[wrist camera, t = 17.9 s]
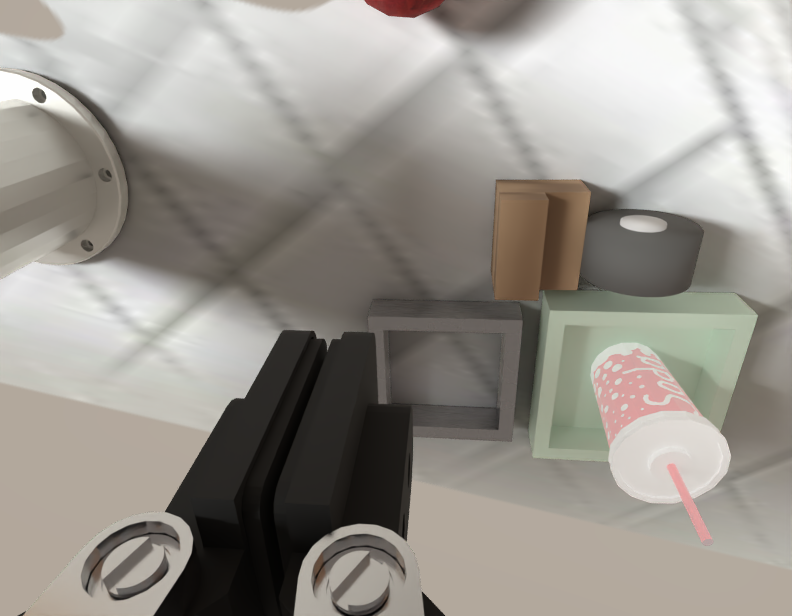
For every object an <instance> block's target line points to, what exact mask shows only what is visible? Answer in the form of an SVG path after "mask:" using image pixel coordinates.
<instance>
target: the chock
mask: <svg viewBox="0 0 792 616" xmlns="http://www.w3.org/2000/svg"><path fill="white" fill-rule="evenodd" d="M590 197H591V192H590V190H589V189H588V188H587V187H586V185H585V184H584V183H583V182H582V181H581V180H496V192H495V209H494V226H493V243H492V261H491V275H492V282H493V290H494V297H495V300H531V301H538V298H539V290H577V288H578V281H579V274H580V267H581V260H582V253H583V246H584V239H585V232H586V225H587V218H588V211H589V204H590Z"/></svg>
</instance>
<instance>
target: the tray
mask: <svg viewBox="0 0 792 616" xmlns="http://www.w3.org/2000/svg"><path fill="white" fill-rule="evenodd" d="M757 318H758V314H756V313H755V312H754V311H753V310H752V309H751V308H750V307H749V306H748V305H747V304H746V303H745V302H744V301H743V300H742V299H741V298H740V297H739V296H738V295H737V294H736V293H708V292H682V293H679V294H676V295H672V296H666V297H637V296H629V295H624V294H619V293H615V292H611V291H598V290H543V297H542V306H541V315H540V324H539V333H538V343H537V352H536V361H535V370H534V379H533V389H532V398H531V407H530V416H529V426H528V433H529V439H530V445H531V451H532V457H533V458H542V459H562V460H581V461H600V462H609V461H608V458H609V451H610V448H609V445H608V441H607V437H606V433H605V429H604V426H603V422H602V418H601V414H600V410H599V407H598V403H597V399H596V395H595V391H594V388H593V384H592V380H591V376H590V375H591V366H592V364H593V362H594V361H595V359H596V357H597V356H598V355H599V354H600V353H601V352H603V351H604V350H605V349H607V348H608V347H611V346H614V345H617V344H620V343H638V344H641V345H644V346H647V347H649V348H650V349H651V350H652V351H653V352H654V353H655V354H656V355H657V356H658V357H659V359H660V360H661V361H662V363H663V364H664V365H665V367H666V368H667V369H668V371H669V372H670V373H671V375H672V376H673V377H674V379H675V380H676V381H677V383H678V384H679V385H680V387H681V388H682V389H683V391H684V392H685V393H686V395H687V396H688V397H689V398H690V400H691V401H692V402H693V404H694V405H695V406H696V408H697V409H698V410H699V412H700V413H701V414H702V416H703V417H705V418H706V419H707V420H709V421H710V422H711V423H712V424H713V425H714V426H715V427H716V428H717V429H718V430H719V431H720V432H721V429H722V426H723V423H724V419H725V416H726V413H727V410H728V407H729V404H730V401H731V398H732V395H733V392H734V389H735V386H736V382H737V379H738V376H739V373H740V370H741V367H742V364H743V361H744V358H745V355H746V352H747V348H748V345H749V342H750V339H751V336H752V333H753V330H754V327H755V324H756V321H757Z"/></svg>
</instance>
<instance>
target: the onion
mask: <svg viewBox="0 0 792 616" xmlns="http://www.w3.org/2000/svg"><path fill="white" fill-rule="evenodd" d="M443 1H444V0H365V2H366V3H367V4H368V5H370V6H372V7H374V8H375V9H377V10H379V11H381V12H383V13H384V14H386V15H388V16H397V17H410V18H415V17H417V16H419V15H421V14H424V13H426V12H428V11H430V10H432V9H435V8H437V7H439V6H440V5H441V4H442V2H443Z"/></svg>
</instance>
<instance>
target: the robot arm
mask: <svg viewBox="0 0 792 616" xmlns="http://www.w3.org/2000/svg"><path fill="white" fill-rule="evenodd" d="M127 207H128V185H127V181H126V176H125V172H124V167H123V165H122V162H121V160H120V157H119V155H118V152H117V150H116V148H115V146H114V144H113V142H112V141H111V139H110V137H109V136H108V134H107V132H106V130H105V129H104V128H103V127H102V125H101V124H100V123H99V121H98V120H97V119H96V118H95V116H94V115H93V114H92V113H91V112H90V111H89V110H88V109H87V108H86V107H85V106H84V105H83V104H82V103H81V102H80V101H79V100H78V99H77V98H76V97H74V96H73V95H71V94H70V93H69V92H67V91H66V90H64V89H63V88H61V87H60V86H59V85H57V84H55V83H53V82H51V81H49V80H47V79H45V78H43V77H41V76H39V75H37V74H33V73H30V72H26V71H23V70H19V69H11V68H0V280H1V279H3V278H4V277H6V276H8V275H10V274H12V273H14V272H15V271H17V270H19V269H21V268H23V267H25V266H27V265H28V264H30V263H32V262H37V263H41V264H49V265H69V264H75V263H79V262H82V261H85V260H88V259H90V258H91V257H93V256H95V255H97V254H98V253H100V252H101V251H103V250H104V249H105V248H107V247H108V246H109V245H110V244H111V243H112V242H113V241H114V239H115V238H116V237H117V235H118V234H119V233H120V231H121V228H122V226H123V224H124V221H125V219H126V213H127ZM412 462H413V409H412V405H394V404H379V402H378V380H377V357H376V338H375V334H374V333H369V332H344V333H343V335H342V338H341V339H333V340H332V341H331V344H330V346H329V349H328V352H327V345H326V341H325V339H317V338H316V334H315V332H314V331H295V330H284V331H282V333H281V334H280V336H279V338H278V339H277V341H276V343H275V345H274V347H273V348H272V350H271V352H270V354H269V356H268V357H267V359H266V361H265V363H264V365H263V366H262V368H261V370H260V372H259V374H258V375H257V377H256V379H255V381H254V383H253V384H252V386H251V388H250V390H249V392H248V393H247V395H246V397H245V399H240V398H236V399H234V400H232V401H231V402H230V403H229V405H228V406H227V407H226V409H225V411H224V413H223V414H222V416H221V418H220V419H219V421H218V423H217V424H216V426H215V428H214V429H213V431H212V433H211V435H210V436H209V438H208V440H207V441H206V443H205V445H204V446H203V448H202V450H201V452H200V453H199V455H198V457H197V458H196V460H195V462H194V464H193V465H192V467H191V468H190V470H189V472H188V473H187V475H186V477H185V479H184V480H183V482H182V484H181V485H180V487H179V489H178V490H177V492H176V494H175V495H174V497H173V499H172V501H171V502H170V504H169V506H168V507H167V509H166V511H165V512H147V513H142V514H137V515H133V516H130V517H128V518H125V519H123V520H120V521H118V522H115V523H114V524H112V525H111V526H109V527H107V528H106V529H104V530H103V531H101V532H99V533H98V534H97V535H96V536H95V537H94V538H92V539H91V540H90V541H89V542H88V543H87V544H86V545H85V546H84V547H83V548H82V549H81V550H80V551H79V552H78V553H77V555H76V556H75V557H74V558H73V559H72V560H71V561H70V563H69V564H68V565H67V566H66V567H65V568H64V569H63V571H62V572H61V573H60V574H59V575H58V576H57V577H56V578H55V580H54V581H53V582H52V583H51V584H50V585H49V586H48V588H47V589H46V590H45V591H44V592H43V593H42V594H41V595H40V597H39V598H38V599H37V600H36V601H35V602H34V603H33V605H32V606H31V607H30V608H29V609H28V610H27V611H26V612H24V613H22V614H20V615H18V616H445V615H444V614H443V613H442V612H441V611H440V610H439V609H438V608H437V607H436V606H435V605H434V603H432V601H431V600H430V599H429V598H428V597H427V596H426V595H425V594H424V593H423V592H422V590H421V581H420V572H419V567H418V563H417V560H416V557H415V553H414V552H413V550H412V549H411V548H410V546H409V545H408V544H407V530H408V519H409V506H410V495H411V482H412Z"/></svg>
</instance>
